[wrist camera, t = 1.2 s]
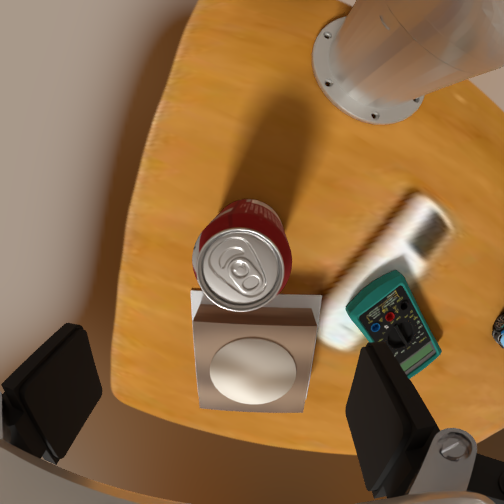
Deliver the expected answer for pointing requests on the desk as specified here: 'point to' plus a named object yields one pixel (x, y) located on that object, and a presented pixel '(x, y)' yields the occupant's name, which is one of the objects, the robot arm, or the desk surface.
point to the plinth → (253, 358)
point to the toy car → (499, 331)
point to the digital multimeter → (395, 322)
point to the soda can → (243, 256)
